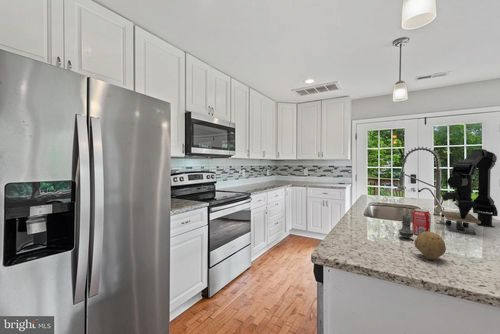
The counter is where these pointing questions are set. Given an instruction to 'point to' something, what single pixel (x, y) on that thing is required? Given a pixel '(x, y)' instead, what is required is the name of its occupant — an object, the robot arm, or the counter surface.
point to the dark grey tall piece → (406, 229)
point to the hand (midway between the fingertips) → (462, 218)
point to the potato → (430, 245)
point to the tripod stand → (459, 227)
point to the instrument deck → (456, 217)
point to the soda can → (421, 221)
